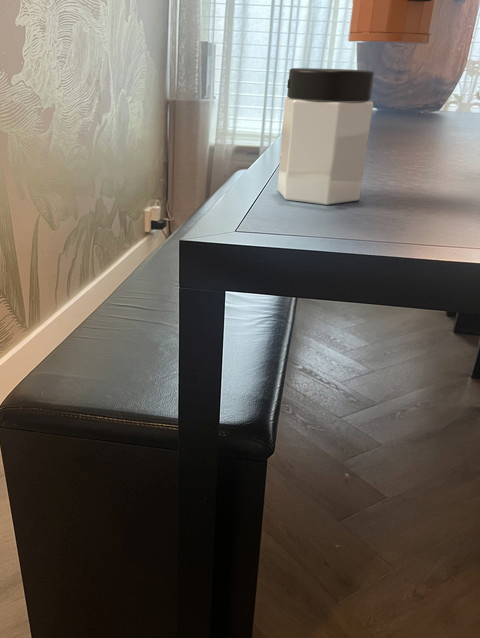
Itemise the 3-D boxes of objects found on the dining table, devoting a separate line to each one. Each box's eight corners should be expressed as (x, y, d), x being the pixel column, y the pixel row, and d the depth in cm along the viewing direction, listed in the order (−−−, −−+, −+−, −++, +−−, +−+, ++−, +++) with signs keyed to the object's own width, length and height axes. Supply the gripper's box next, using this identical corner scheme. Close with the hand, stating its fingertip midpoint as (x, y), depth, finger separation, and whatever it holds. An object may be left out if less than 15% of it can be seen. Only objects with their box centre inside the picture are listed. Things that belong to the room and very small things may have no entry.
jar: (321, 185, 69) (334, 68, 64) (375, 199, 64) (395, 71, 58) (259, 192, 65) (268, 67, 59) (311, 208, 59) (327, 70, 53)
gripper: (569, -338, 35) (494, 0, 43) (427, -238, 47) (389, 11, 55) (456, -364, 33) (399, -6, 41) (339, -253, 45) (313, 6, 53)
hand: (394, 3), depth 48 cm, fingers closed on pot, 6 cm apart
